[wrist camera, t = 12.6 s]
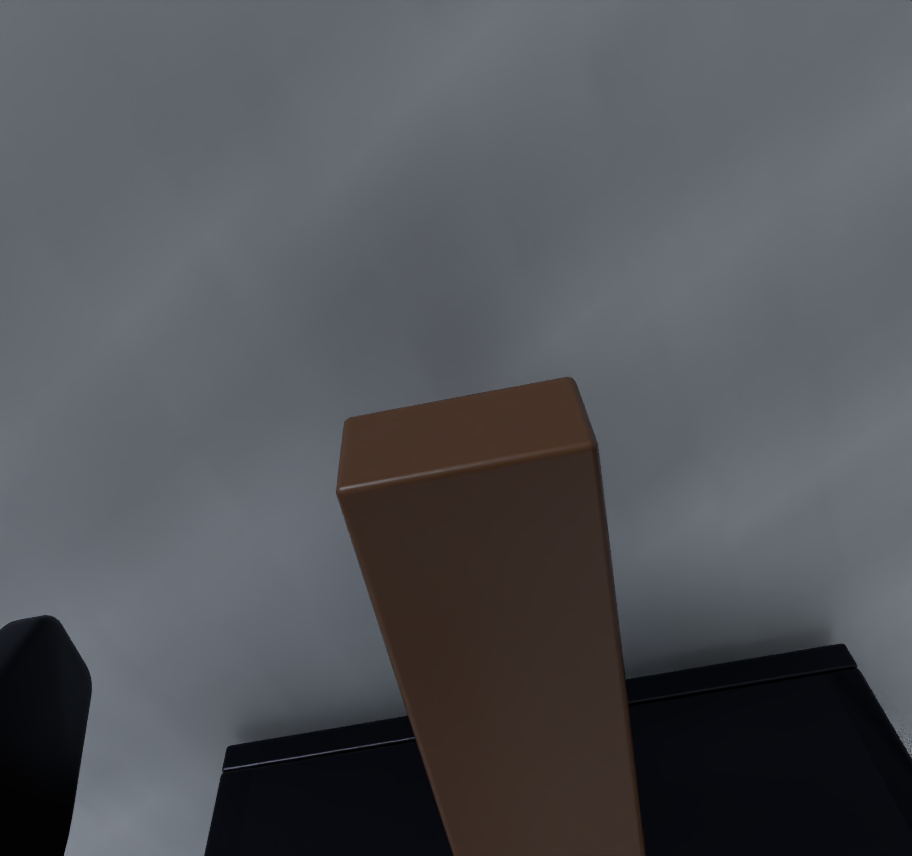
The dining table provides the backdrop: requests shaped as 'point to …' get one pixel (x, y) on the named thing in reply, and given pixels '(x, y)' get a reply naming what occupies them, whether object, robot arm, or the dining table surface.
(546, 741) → the pan
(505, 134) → the dining table surface
